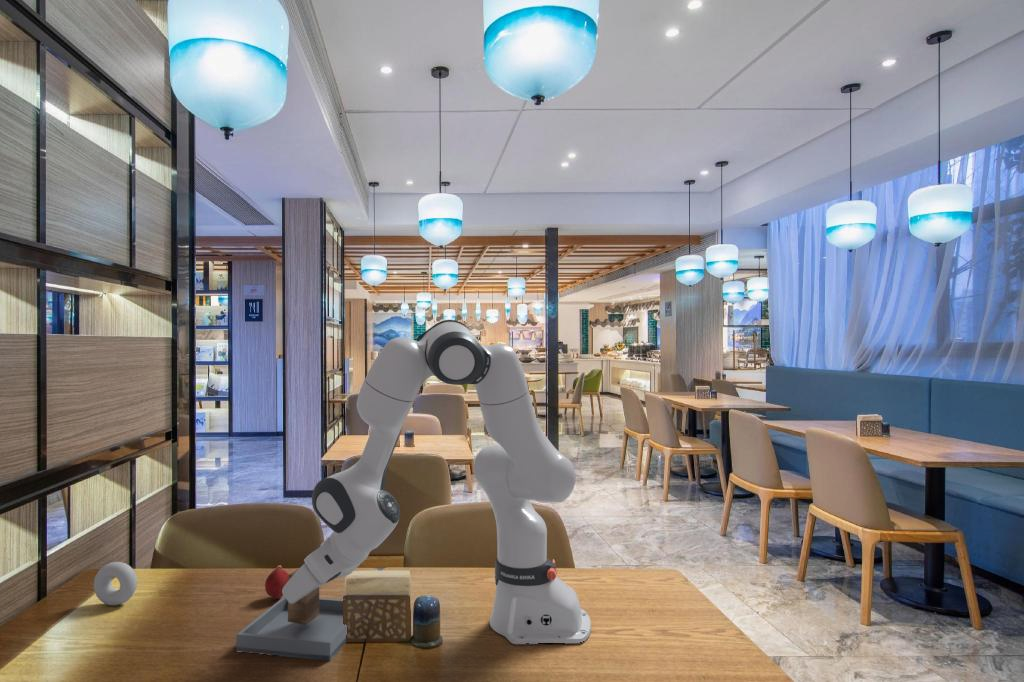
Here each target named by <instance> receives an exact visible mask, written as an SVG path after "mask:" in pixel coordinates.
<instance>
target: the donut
mask: <svg viewBox="0 0 1024 682" xmlns="http://www.w3.org/2000/svg"><path fill="white" fill-rule="evenodd" d="M113 578H116V579H117V580H118V582H119V588H118V589H116V588H114V587H113V585H112V579H113ZM137 586H138V576H137V574H136V572H135V570H134V569H133V567H131V565H129V564H127V563H125V562H121V561H113V562H109V563H107V564H105V565H104V566H102V567H101V568H100V569H99V570H98V571H97V573H96V575H95V577H94V581H93V591H94V593H95V596H96V598H97V599H98V600H99V601H100V602H101V603H103V604H105V605H108V606H112V607H113V606H120V605H122V604H125V603H127V602H128V601H129V600H130V599H132V597H133V595H134V594H135V592H136V590H137V588H138V587H137Z"/></svg>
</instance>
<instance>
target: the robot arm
mask: <svg viewBox="0 0 1024 682" xmlns="http://www.w3.org/2000/svg"><path fill="white" fill-rule="evenodd" d="M432 376H435V378H437V379H438V380H439V381H440V382H442V383H445V384H448V385H453V386H460V385H474V387H475V390H476V394H477V397H478V398H477V399H478V402H479V406H480V410H481V414H482V418H483V422H484V425H485V430H486V431H487V434H488V435H489V437H490V438H491V439H492V440H494V441H495V442H496V443H497V444H496V445H494V444H493V445H488V446H485V447H482V449H480V450H479V452H478V453H477V454H476V456H475V458H474V461H473V467H472V468H473V469H472V471H473V476H474V479H475V481H476V482H477V483H478V485H479V486H480V487H481V488H482V489H483V492H484V493H485V494H486V496H487V498H488V500H489V503H490V505H491V508H492V510H493V515H494V518H495V523H496V534H497V535H496V539H497V546H496V547H497V556H496V559H495V562H494V581H495V594H494V600H493V606H492V611H491V614H490V617H489V625H490V628H491V630H493V631H494V632H496V633H498V634H499V635H501V636H503V637H505V638H506V639H507V640H508V641H509V642H510V643H511V644H513V645H527V644H526V643H529V644H528V645H539V644H538V643H565V644H581V643H580V642H582V643H584V642H586V640H588V639H589V637H590V635H591V630H592V624H591V623H592V621H591V618H590V615H589V613H588V612H587V611H586V610H585V609H583V608H581V604H580V601H579V597H578V594H577V593H576V591H575V590H574V588H572V587H571V586H569V585H568V584H566V583H565V582H564V581H563V580H561V579H560V578H559V577H558V576H557V572H558V571H557V570H556V569H557V568H556V567H557V566H556V561H555V559H554V558H553V559H552V560H551V559H550V558H548V555H547V551H548V549H547V548H548V547H547V546H548V542H547V540H548V536H547V535H548V530H547V525H546V521H545V520H544V518H542V516H541V515H540V514H539V513H538V512H537V511H536V509H535V508H534V506H533V505H532V502H531V501H534V502H537V503H542V504H543V503H544V504H545V503H546V504H547V503H563V502H564V501H566V500H567V499H568V498H569V497H570V495H571V494H572V493H573V491H574V488H575V485H576V481H577V479H576V478H577V476H576V471H575V467H574V465H573V463H572V461H571V460H570V459H569V458H568V457H566V456H565V455H563V454H562V452H560V451H559V450H558V449H557V448H556V447H555V446H554V445H553V443H552V442H551V441H550V440H549V439H548V437H547V435H546V434H545V432H544V431H543V429H542V427H541V425H540V424H539V421H538V418H537V416H536V413H535V409H534V408H535V407H534V405H533V401H532V398H531V394H530V389H529V384H528V381H527V378H526V374H525V372H524V368H523V366H522V364H521V361H520V358H519V357H518V354H517V352H516V351H515V349H514V348H513V347H511V346H509V345H508V344H503V343H492V344H489V345H486V344H485V345H484V344H481V343H480V341H479V340H478V339H477V337H476V335H475V334H474V333H473V332H472V331H471V329H470V328H469V327H468V326H467V325H466V324H464V323H463V322H461V321H459V320H454V319H445V320H441V321H439V322H437V323H435V324H433V325H432V326H431V327H430V328H428V329H427V330H426V331H424V332H423V333H421V334H420V335H419V336H418V337H417V339H416V340H414V339H412V338H409V337H404V336H403V337H399V336H398V337H394V338H392V339H389V340H388V341H387V342H386V343H385V345H384V346H383V347H382V349H381V350H380V352H379V353H378V355H377V356H376V357H375V359H374V361H373V362H372V365H371V366H370V368H369V370H368V372H367V374H366V376H365V378H364V381H363V382H362V385H361V387H360V389H359V392H358V395H357V400H356V405H355V406H356V409H357V413H358V415H359V417H360V419H362V421H363V422H364V423H365V424H367V425H368V426H370V432H369V435H368V438H367V440H366V444H365V446H364V448H363V451H362V455H361V457H360V458H359V460H358V461H357V462H356V463H355V464H353V465H351V466H350V467H349V468H347V469H345V470H342V471H340V472H336V473H334V474H332V475H329V476H327V477H325V478H323V479H321V480H318V482H317V483H316V485H315V486H314V488H313V490H312V494H311V506H312V510H313V511H314V513H315V514H316V516H317V517H318V518H319V519H320V520H321V521H322V522H323V523H324V524H325V525H326V526H327V527H328V528H329V529H330V530H331V531H332V533H331V534H330V535H329V536H328V537H326V539H325V540H324V541H323V542H322V543H321V544H320V545H319V546H317V548H315V549H314V550H313V551H312V552H311V553H309V554H308V555H307V556H306V557H305V558H304V560H303V562H304V563H303V564H302V565H301V567H299V568H297V569H298V570H297V569H296V570H297V572H296V573H295V574H294V575H293V576H292V577H291V579H290V580H289V581H288V582H287V583H286V585H285V586H284V587H283V589H282V594H283V597H285V598H286V600H287V601H288V602H289V603H290V604H294V603H296V602H297V601H299V600H300V599H302V598H303V597H305V596H306V595H308V594H309V593H311V592H312V591H314V590H315V589H317V588H318V587H319V588H320V587H321V586H323V585H326V584H327V583H331V582H332V581H333V580H335V579H338V578H342V577H346V576H349V575H351V574H352V573H353V572H354V571H355V570H356V569H357V568H359V566H360V565H361V564H362V563H363V562H364V561H365V560H366V559H367V558H368V557H369V555H370V552H372V551H373V550H375V549H377V548H378V547H379V546H380V545H381V544H382V543H383V542H384V541H385V540H386V539H387V538H388V537H389V536H390V535H391V534H392V533H393V530H394V529H395V528H396V526H397V525H398V523H399V521H400V518H401V509H400V506H399V503H398V502H397V500H396V498H395V497H394V495H393V494H391V492H389V491H387V490H385V489H386V480H387V479H386V478H387V471H388V466H389V464H390V461H391V459H392V456H393V454H394V452H395V449H396V447H397V444H398V440H399V438H400V435H401V433H402V430H403V426H404V425H405V421H406V419H407V417H408V415H409V413H410V411H411V409H412V407H413V405H414V403H415V401H416V398H417V396H418V394H419V391H420V389H421V387H422V386H423V385H424V383H425V382H426V381H427V380H428V379H429V378H430V377H432ZM583 641H584V642H583Z"/></svg>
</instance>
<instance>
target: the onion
mask: <svg viewBox="0 0 1024 682" xmlns="http://www.w3.org/2000/svg"><path fill="white" fill-rule="evenodd" d="M289 574H290V573H288V572H287V571H286V570H285V569H283V566H282V565H281V564H280V565H277V567H276V568H275V569H273V571H271V573H269V575H268V576H267V577H266V579H265V583H264V587H265V592H266V594H267V595H268V596H269V597H271V598H273V599H276V600H280V599H282V598H283V597H284V595H283V594H282V589H283V587H284V586H285V585H286V583H287V582H288V581H289Z"/></svg>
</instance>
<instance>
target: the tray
mask: <svg viewBox="0 0 1024 682" xmlns="http://www.w3.org/2000/svg"><path fill="white" fill-rule="evenodd" d="M343 600H344V598H343V599H340V598H328V597H319V616H317V617H316V618H314V619H313V620H312V621H310V622H309V623H308V624H306V625H303V624H298V623H292V622H288V601H287V600H286V598H285V597H284V596H282V597H281V598H280V599H278V601H277V602H275V603H274V604H273V605H272V606H271V607H269V608H267V610H265V611H264V612H263V613H261V614H260V615H259V616H258V617H256V618H255V619H254V620H253V621H252V622H250V623H249V624H247V626H245V627H244V628H243V629H241V630H240V631H238V632H237V633H236V634H235V635H236V638H235V641H236V642H235V643H236V645H235V646H236V647H235V648H236V650H235V652H236V651H243V652H252V653H263V654H270V655H269V656H272V655H279V656H278V657H283V656H284V658H296V659H305V660H315V661H317V660H318V661H326V662H331V661H332V659H333V658H334V657H335V656H336V655H337V653H339V651H340V650H341V649H342V648H343V646H344V645H345V644H346V643H347V642H346V635H347V625H346V624H345V625H344V624H343Z"/></svg>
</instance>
